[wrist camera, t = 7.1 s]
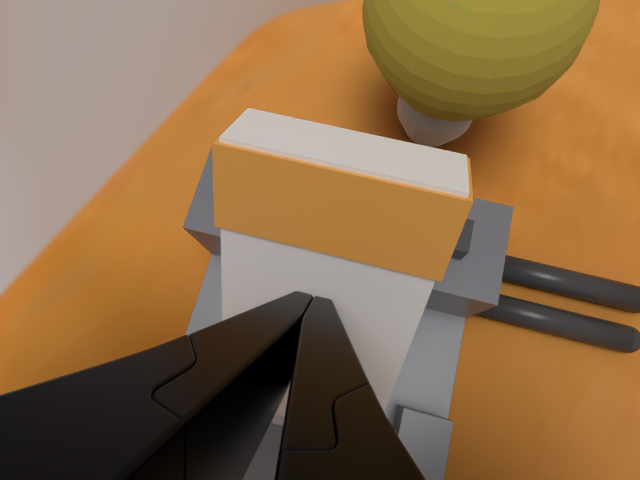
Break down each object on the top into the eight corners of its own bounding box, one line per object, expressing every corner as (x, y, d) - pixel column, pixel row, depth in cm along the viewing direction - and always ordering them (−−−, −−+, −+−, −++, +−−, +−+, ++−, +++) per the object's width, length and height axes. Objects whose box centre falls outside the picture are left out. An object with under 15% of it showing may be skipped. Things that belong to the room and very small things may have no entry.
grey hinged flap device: (616, 672, 14) (772, 843, 9) (133, 516, 16) (37, 587, 11) (644, 284, 18) (771, 250, 13) (241, 190, 19) (206, 126, 14)
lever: (375, 446, 14) (475, 196, 8) (219, 401, 14) (211, 138, 9) (382, 395, 15) (471, 153, 9) (240, 356, 15) (245, 105, 10)
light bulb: (324, 136, 20) (312, -77, 10) (411, 35, 21) (472, -236, 12) (450, 223, 19) (569, 72, 9) (534, 110, 20) (717, -127, 10)
